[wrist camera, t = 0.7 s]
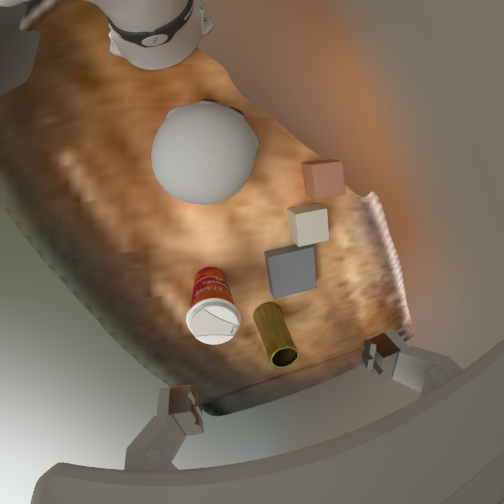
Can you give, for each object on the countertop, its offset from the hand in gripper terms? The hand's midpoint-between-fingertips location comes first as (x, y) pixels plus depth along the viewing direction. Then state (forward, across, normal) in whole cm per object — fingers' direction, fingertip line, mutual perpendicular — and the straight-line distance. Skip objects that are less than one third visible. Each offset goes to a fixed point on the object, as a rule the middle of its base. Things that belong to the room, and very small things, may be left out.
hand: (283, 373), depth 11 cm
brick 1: (+40, -19, -2) cm, 44 cm away
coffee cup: (+40, +5, +14) cm, 43 cm away
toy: (+40, +1, -10) cm, 41 cm away
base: (+40, -11, +15) cm, 44 cm away
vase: (+41, -5, +25) cm, 48 cm away
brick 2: (+40, -15, +6) cm, 43 cm away
